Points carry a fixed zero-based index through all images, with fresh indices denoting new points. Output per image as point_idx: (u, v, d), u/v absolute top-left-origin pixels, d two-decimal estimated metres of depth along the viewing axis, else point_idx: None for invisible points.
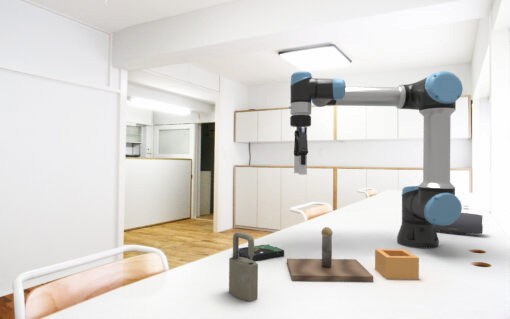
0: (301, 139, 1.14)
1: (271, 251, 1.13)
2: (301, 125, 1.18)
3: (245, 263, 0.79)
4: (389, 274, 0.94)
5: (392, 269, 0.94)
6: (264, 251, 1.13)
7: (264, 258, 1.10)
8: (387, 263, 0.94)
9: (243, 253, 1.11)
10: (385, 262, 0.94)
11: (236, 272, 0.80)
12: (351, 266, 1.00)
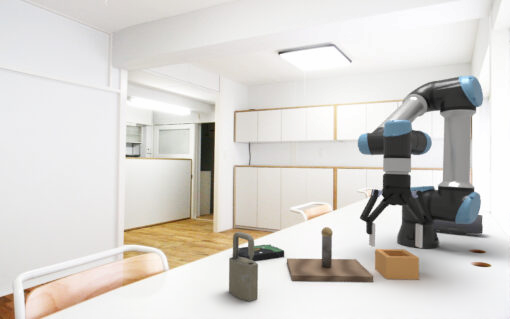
0: (367, 204, 0.99)
1: (271, 251, 1.13)
2: (383, 186, 0.98)
3: (245, 263, 0.79)
4: (389, 274, 0.94)
5: (392, 269, 0.94)
6: (263, 251, 1.13)
7: (263, 258, 1.10)
8: (387, 263, 0.94)
9: (242, 253, 1.11)
10: (385, 262, 0.94)
11: (236, 272, 0.80)
12: (351, 266, 1.00)
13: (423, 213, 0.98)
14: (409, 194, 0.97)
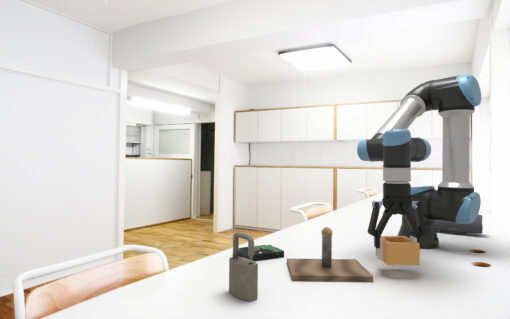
0: (371, 217, 0.99)
1: (270, 251, 1.12)
2: (383, 196, 0.98)
3: (245, 263, 0.79)
4: (390, 260, 0.94)
5: (392, 255, 0.94)
6: (263, 251, 1.13)
7: (262, 258, 1.10)
8: (388, 249, 0.94)
9: (242, 253, 1.11)
10: (386, 248, 0.95)
11: (236, 272, 0.80)
12: (351, 266, 1.00)
13: (419, 224, 0.98)
14: (409, 203, 0.97)
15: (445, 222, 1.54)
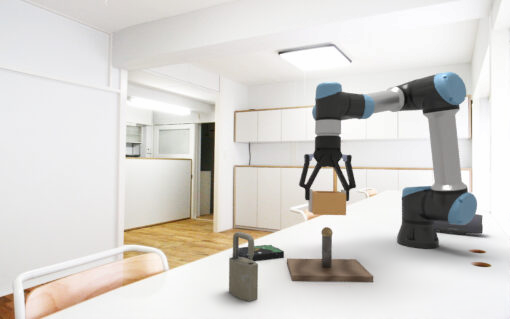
0: (302, 170, 1.00)
1: (270, 252, 1.12)
2: None
3: (245, 263, 0.79)
4: (317, 210, 0.95)
5: (319, 205, 0.95)
6: (263, 251, 1.12)
7: (262, 258, 1.10)
8: (315, 199, 0.95)
9: (241, 253, 1.11)
10: (313, 198, 0.95)
11: (236, 272, 0.80)
12: (351, 266, 1.00)
13: (349, 178, 0.99)
14: (339, 156, 0.98)
15: None
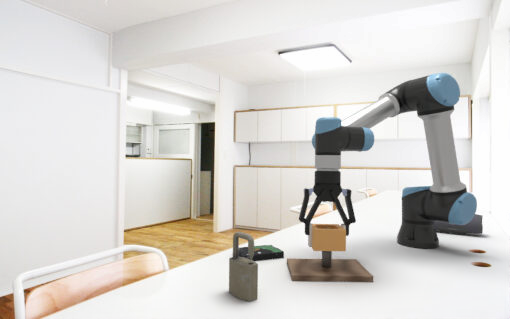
0: (302, 204, 1.00)
1: (270, 252, 1.12)
2: None
3: (245, 263, 0.79)
4: (317, 246, 0.95)
5: (319, 241, 0.95)
6: (263, 251, 1.12)
7: (261, 259, 1.10)
8: (315, 235, 0.95)
9: (241, 253, 1.11)
10: (313, 234, 0.95)
11: (236, 272, 0.80)
12: (351, 266, 1.00)
13: (349, 212, 0.99)
14: (339, 191, 0.98)
15: None
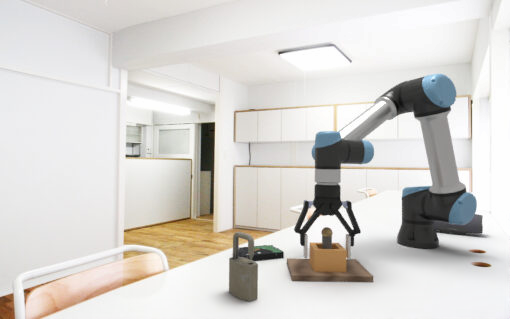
0: (300, 215, 1.00)
1: (269, 252, 1.12)
2: (314, 197, 0.99)
3: (245, 263, 0.79)
4: (317, 267, 0.95)
5: (320, 262, 0.95)
6: (262, 252, 1.12)
7: (261, 259, 1.10)
8: (315, 256, 0.95)
9: (240, 252, 1.11)
10: (314, 255, 0.95)
11: (236, 272, 0.80)
12: (351, 266, 1.00)
13: (352, 224, 0.99)
14: (339, 204, 0.98)
15: None
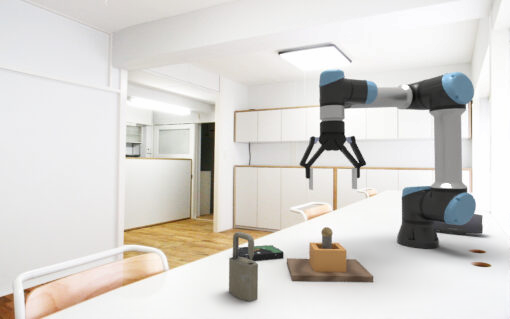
0: (305, 151, 1.05)
1: (269, 252, 1.12)
2: (320, 134, 1.05)
3: (245, 263, 0.79)
4: (317, 267, 0.95)
5: (320, 262, 0.95)
6: (262, 252, 1.12)
7: (260, 259, 1.10)
8: (315, 256, 0.95)
9: (240, 252, 1.12)
10: (314, 255, 0.95)
11: (236, 272, 0.80)
12: (351, 266, 1.00)
13: (357, 157, 1.04)
14: (343, 139, 1.03)
15: None
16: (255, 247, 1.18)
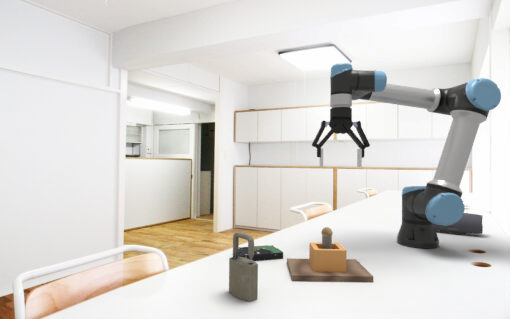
0: (317, 133, 1.21)
1: (269, 252, 1.12)
2: (330, 118, 1.21)
3: (245, 263, 0.79)
4: (317, 267, 0.95)
5: (320, 262, 0.95)
6: (262, 252, 1.12)
7: (260, 259, 1.10)
8: (315, 256, 0.95)
9: (240, 252, 1.12)
10: (314, 255, 0.95)
11: (236, 272, 0.80)
12: (351, 266, 1.00)
13: (362, 139, 1.20)
14: (350, 124, 1.19)
15: None
16: (255, 247, 1.18)
